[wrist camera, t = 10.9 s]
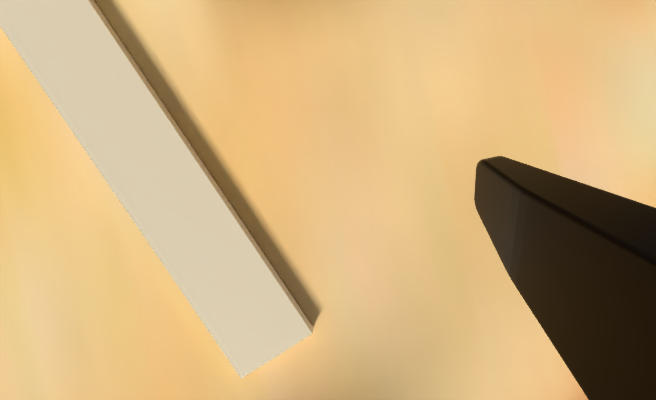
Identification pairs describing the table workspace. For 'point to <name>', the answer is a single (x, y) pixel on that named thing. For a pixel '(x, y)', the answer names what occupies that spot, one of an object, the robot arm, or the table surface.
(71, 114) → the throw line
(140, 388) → the table surface
